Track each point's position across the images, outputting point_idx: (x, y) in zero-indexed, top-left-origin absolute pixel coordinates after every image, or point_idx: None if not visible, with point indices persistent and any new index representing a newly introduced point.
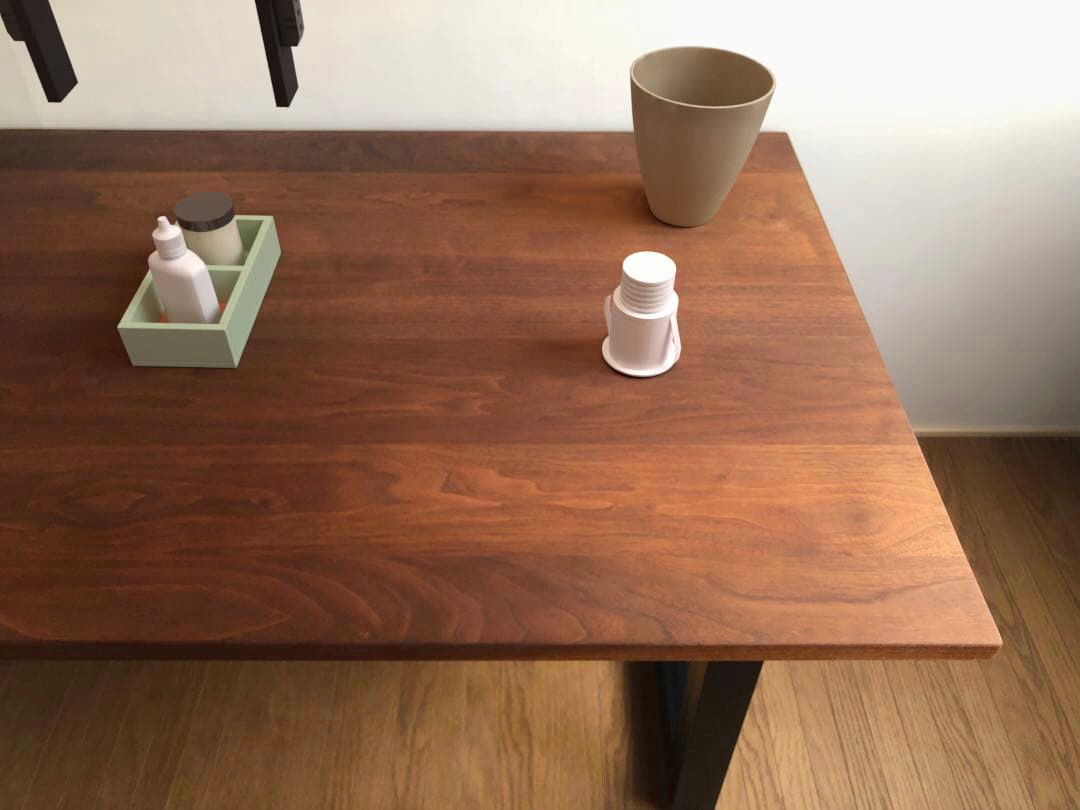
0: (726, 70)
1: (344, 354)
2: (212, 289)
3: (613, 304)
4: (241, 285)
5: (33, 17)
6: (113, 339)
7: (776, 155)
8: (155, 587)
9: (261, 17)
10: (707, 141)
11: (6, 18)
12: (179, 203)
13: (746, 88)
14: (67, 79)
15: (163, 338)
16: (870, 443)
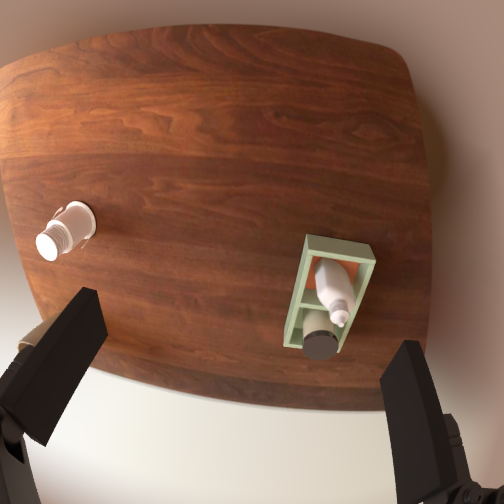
0: None
1: (238, 237)
2: (316, 283)
3: (73, 235)
4: (299, 289)
5: (424, 448)
6: (380, 268)
7: None
8: (334, 63)
9: (25, 381)
10: (41, 332)
11: (456, 440)
12: (335, 351)
13: None
14: (391, 377)
15: (349, 251)
16: (7, 158)
